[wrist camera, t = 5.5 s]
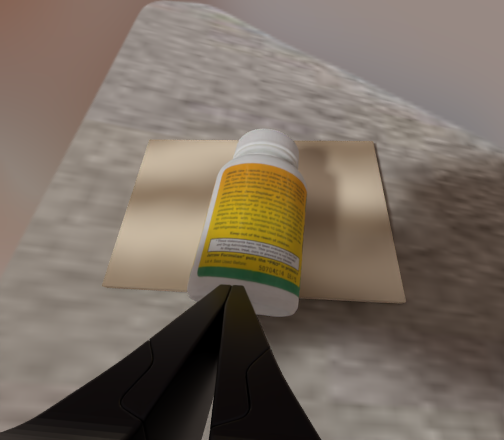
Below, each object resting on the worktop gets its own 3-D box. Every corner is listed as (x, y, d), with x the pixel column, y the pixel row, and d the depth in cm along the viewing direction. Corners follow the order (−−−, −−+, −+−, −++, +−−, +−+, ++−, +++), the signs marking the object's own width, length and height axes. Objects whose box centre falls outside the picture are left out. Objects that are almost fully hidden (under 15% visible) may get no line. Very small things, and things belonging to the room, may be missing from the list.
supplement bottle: (172, 298, 13) (213, 155, 17) (259, 317, 15) (276, 186, 19) (210, 289, 8) (252, 100, 13) (325, 318, 11) (328, 148, 15)
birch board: (400, 303, 14) (406, 302, 14) (107, 287, 16) (102, 285, 15) (370, 146, 20) (373, 141, 19) (152, 144, 21) (149, 139, 21)
